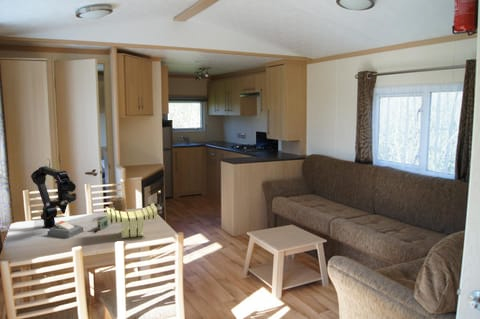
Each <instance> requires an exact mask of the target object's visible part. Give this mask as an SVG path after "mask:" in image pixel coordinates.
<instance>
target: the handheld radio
mask: <svg viewBox="0 0 480 319" xmlns="http://www.w3.org/2000/svg"><path fill="white" fill-rule="evenodd" d="M110 215H111V219H112V214H111V213H110ZM112 224H113V223H111V224H110V225H108V222H107V215H106V216H104V217H102V218H100V219H99V220H97V229H95V230H94V231H93V232H94V233H96V232H99V231H103V230H105V229H106V228H107V227H109V226H111V225H112Z"/></svg>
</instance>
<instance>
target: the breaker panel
mask: <svg viewBox="0 0 480 319" xmlns="http://www.w3.org/2000/svg"><path fill="white" fill-rule="evenodd" d="M72 225H73V226H75V228H72V229H70V230H65V229H63V228H61V227H59V226H57V225H56V226H55V227H52V228H49V230H48V231H47V236H48V237H52V238H53V237H55V238H62V239H63V238H64V239H70V238H73V237H75V236H78V235H79V234H81V233H83V232H84V226H82V225H79V224H72Z"/></svg>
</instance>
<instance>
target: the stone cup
mask: <svg viewBox="0 0 480 319" xmlns="http://www.w3.org/2000/svg"><path fill="white" fill-rule="evenodd" d="M111 201H112V205H113V208H114V211H116V210H117V211H119V214H120V211H122V212H126V213H127V216H128V212H129V211H127V202H126V197H124V196H121V197H116V198H113V199H112V200H111ZM120 218H121V215H120ZM128 218H129V216H128Z"/></svg>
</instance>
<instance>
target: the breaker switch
mask: <svg viewBox="0 0 480 319" xmlns="http://www.w3.org/2000/svg"><path fill="white" fill-rule="evenodd" d="M55 225H56V226H59V227H61V228H63V229H65V230H70V229H72V228H75V226H73V225H74V224H71V223H68V222H67V221H64V220H61V221H58V222H55Z"/></svg>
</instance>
